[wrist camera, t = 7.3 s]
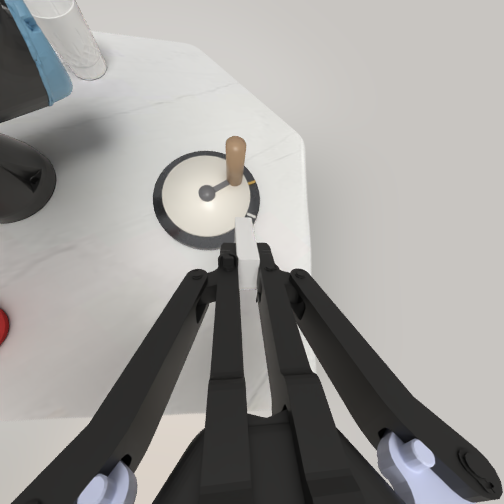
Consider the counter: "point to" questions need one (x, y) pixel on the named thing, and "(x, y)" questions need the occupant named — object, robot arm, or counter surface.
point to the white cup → (69, 36)
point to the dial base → (185, 237)
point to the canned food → (3, 326)
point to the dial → (208, 192)
